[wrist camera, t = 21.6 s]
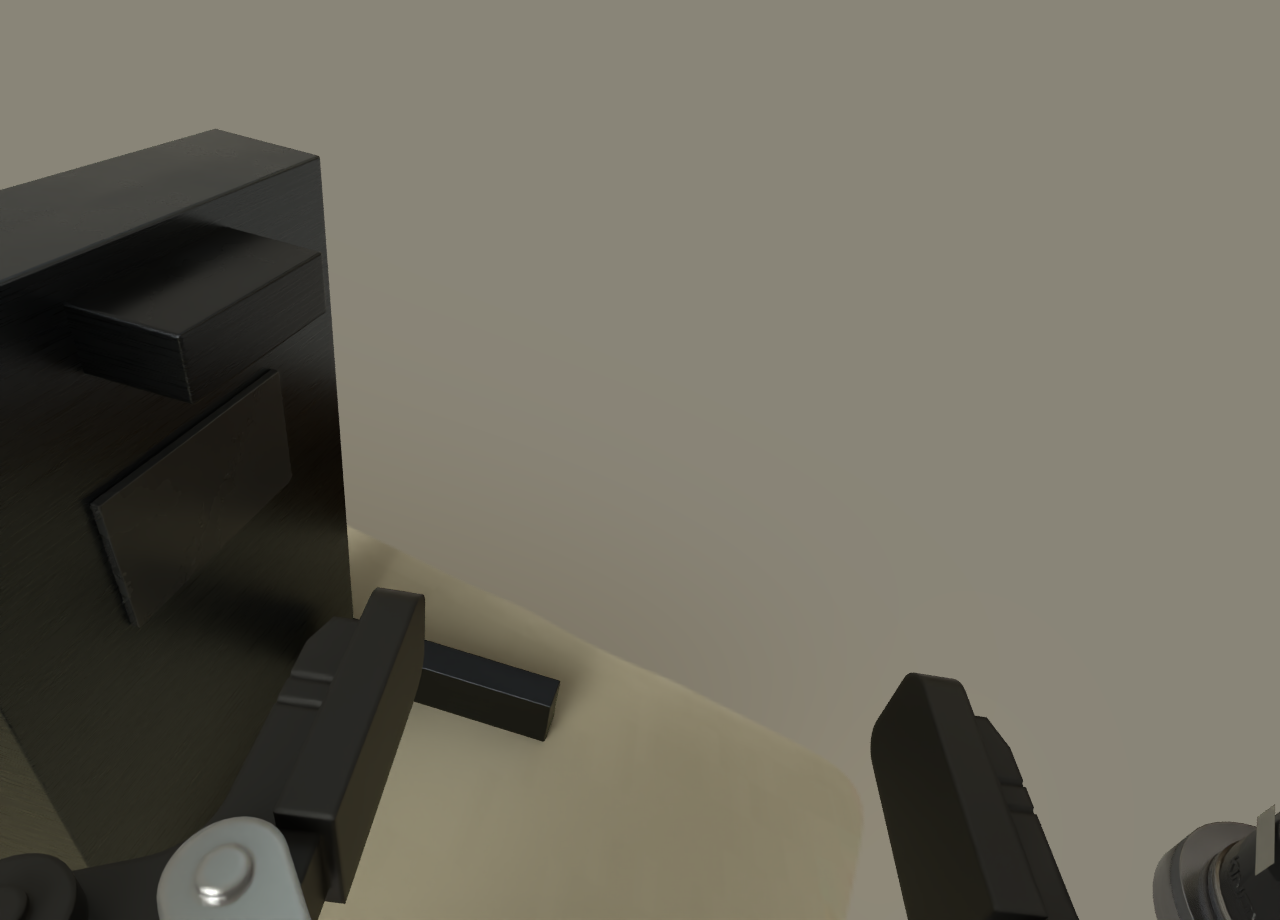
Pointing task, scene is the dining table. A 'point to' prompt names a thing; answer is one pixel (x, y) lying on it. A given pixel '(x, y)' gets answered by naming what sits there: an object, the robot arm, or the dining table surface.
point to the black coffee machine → (172, 492)
